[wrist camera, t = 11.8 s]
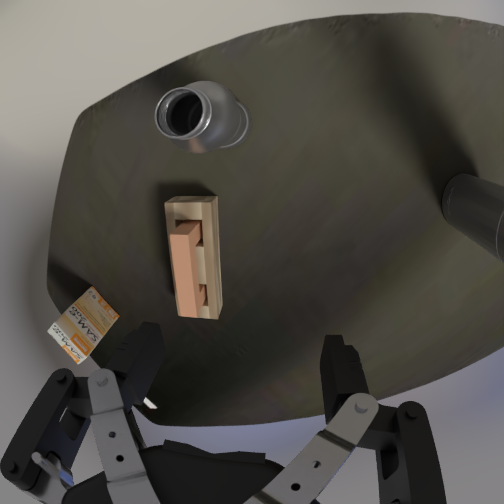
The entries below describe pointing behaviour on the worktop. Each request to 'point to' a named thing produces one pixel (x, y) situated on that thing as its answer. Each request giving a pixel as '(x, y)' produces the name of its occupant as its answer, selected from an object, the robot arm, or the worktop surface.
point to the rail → (200, 246)
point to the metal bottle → (203, 117)
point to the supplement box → (83, 325)
